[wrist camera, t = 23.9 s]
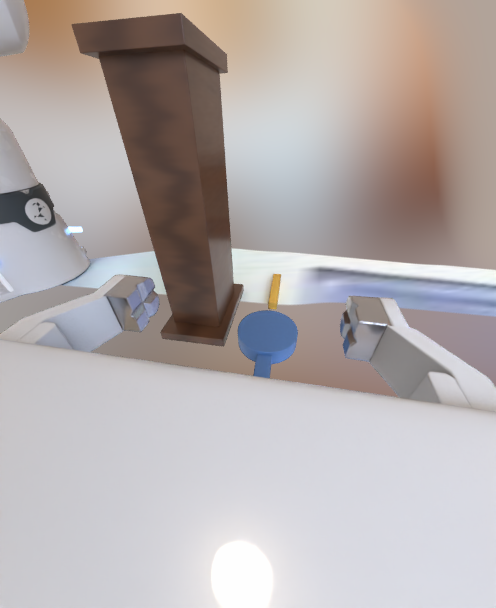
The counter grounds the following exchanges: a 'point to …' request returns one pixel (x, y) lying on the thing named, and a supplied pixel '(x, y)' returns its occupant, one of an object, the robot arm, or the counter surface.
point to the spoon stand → (175, 159)
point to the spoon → (267, 339)
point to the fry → (274, 292)
